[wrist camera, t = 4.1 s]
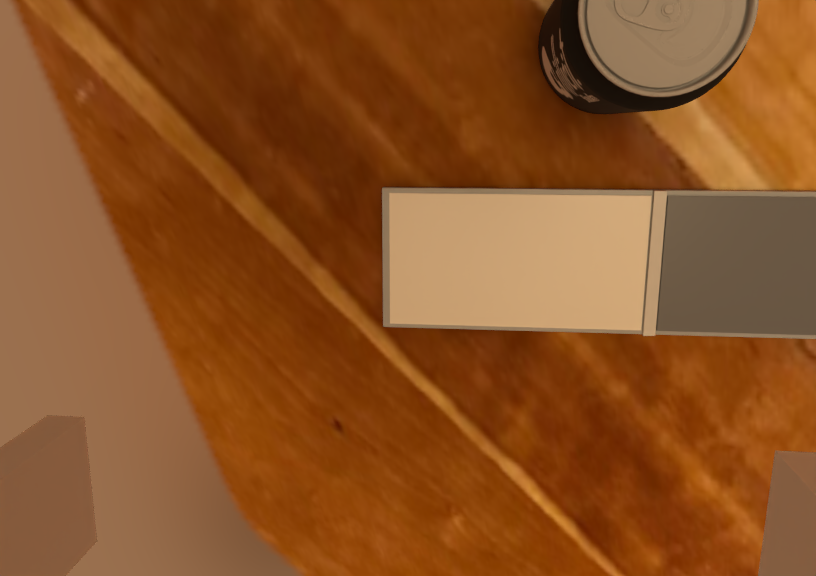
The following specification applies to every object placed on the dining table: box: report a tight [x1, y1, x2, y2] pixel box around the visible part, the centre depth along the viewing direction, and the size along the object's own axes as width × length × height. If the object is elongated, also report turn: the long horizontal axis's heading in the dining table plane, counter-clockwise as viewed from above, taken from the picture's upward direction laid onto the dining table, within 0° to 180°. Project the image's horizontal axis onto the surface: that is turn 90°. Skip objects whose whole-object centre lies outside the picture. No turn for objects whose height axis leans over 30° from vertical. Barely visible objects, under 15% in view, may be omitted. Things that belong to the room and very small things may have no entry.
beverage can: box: [538, 0, 758, 114], centre depth 29 cm, size 7×7×12 cm
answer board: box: [382, 187, 816, 339], centre depth 36 cm, size 8×28×1 cm, turn 90°
